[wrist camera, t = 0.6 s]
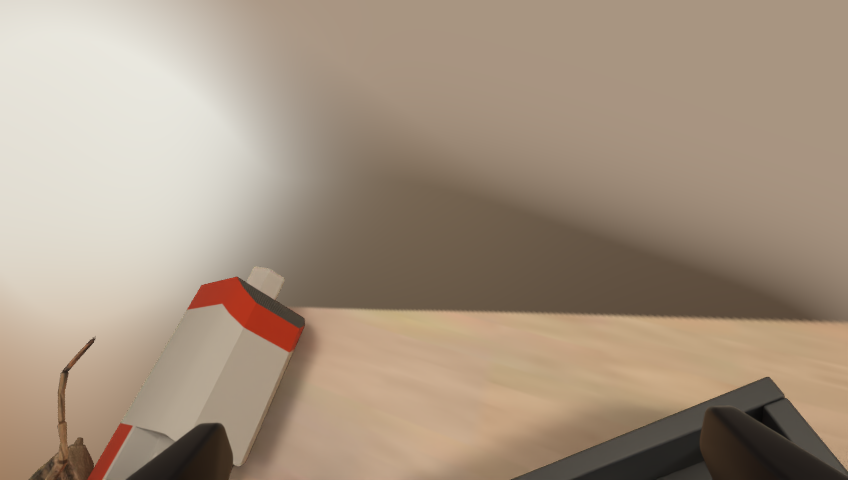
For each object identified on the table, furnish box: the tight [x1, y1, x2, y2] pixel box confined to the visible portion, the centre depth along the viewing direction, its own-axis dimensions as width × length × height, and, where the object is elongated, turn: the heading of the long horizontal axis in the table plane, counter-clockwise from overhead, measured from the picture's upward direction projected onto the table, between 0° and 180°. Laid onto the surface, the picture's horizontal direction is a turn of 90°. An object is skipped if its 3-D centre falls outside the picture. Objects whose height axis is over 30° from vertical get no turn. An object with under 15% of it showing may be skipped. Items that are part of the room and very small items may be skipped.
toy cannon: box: [87, 267, 305, 480], centre depth 30 cm, size 6×20×14 cm
